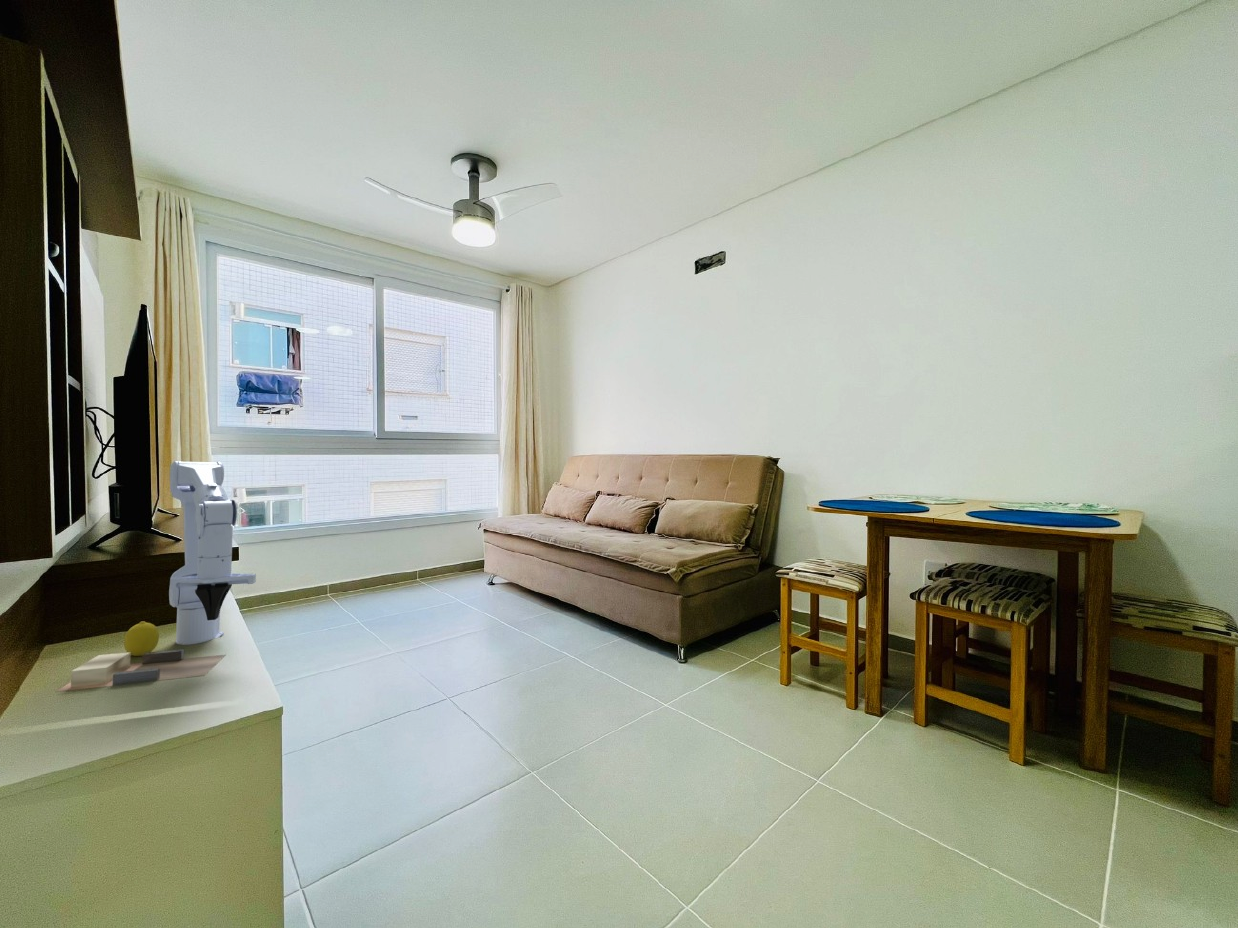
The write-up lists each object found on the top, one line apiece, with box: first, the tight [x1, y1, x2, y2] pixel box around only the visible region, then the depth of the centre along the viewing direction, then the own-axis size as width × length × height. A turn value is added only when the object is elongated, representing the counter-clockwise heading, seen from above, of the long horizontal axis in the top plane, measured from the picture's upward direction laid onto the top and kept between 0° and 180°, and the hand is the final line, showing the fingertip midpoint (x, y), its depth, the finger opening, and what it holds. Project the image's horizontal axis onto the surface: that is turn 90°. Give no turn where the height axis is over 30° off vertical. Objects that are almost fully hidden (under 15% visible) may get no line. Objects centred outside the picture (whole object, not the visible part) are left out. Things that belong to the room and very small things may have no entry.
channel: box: [113, 649, 185, 686], centre depth 100 cm, size 12×6×2 cm, turn 22°
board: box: [55, 654, 226, 693], centre depth 100 cm, size 12×22×1 cm, turn 112°
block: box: [70, 652, 131, 687], centre depth 97 cm, size 8×5×3 cm, turn 22°
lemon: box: [123, 620, 160, 657], centre depth 109 cm, size 6×6×8 cm
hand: (212, 618), depth 107 cm, fingers closed
